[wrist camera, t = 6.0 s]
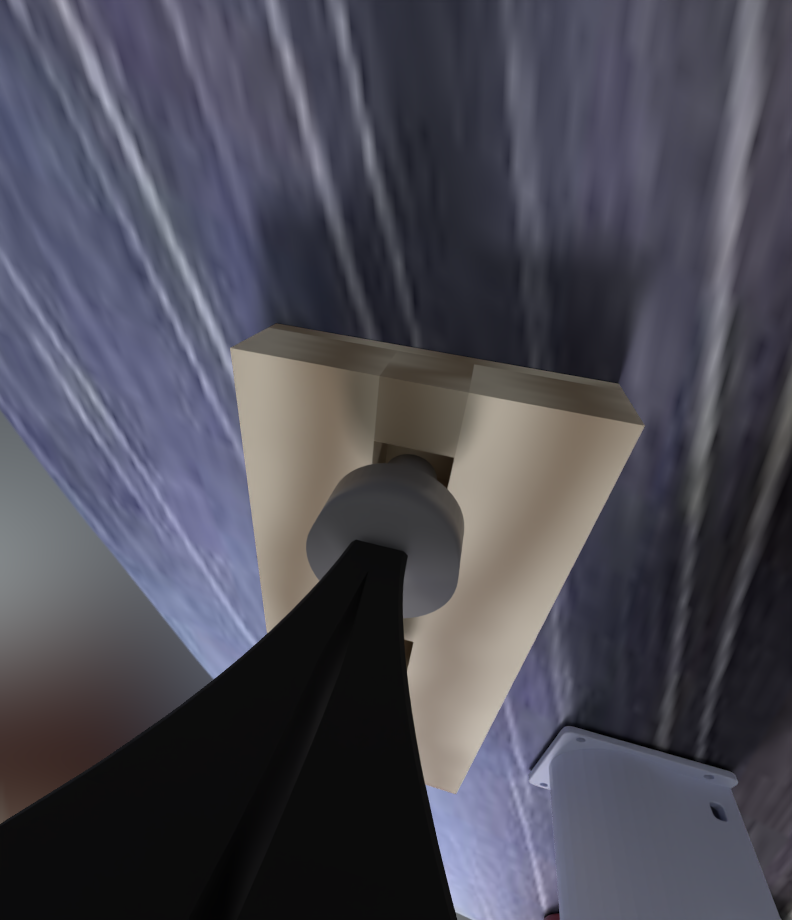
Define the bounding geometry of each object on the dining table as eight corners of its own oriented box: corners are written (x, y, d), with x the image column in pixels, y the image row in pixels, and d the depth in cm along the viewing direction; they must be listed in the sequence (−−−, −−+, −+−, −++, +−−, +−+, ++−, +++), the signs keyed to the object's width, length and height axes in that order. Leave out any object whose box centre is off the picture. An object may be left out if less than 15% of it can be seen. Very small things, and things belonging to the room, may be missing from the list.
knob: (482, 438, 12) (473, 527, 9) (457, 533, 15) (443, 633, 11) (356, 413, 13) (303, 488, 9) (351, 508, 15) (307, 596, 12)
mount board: (618, 383, 13) (644, 425, 11) (460, 742, 28) (456, 794, 26) (276, 323, 15) (230, 348, 12) (299, 693, 30) (280, 738, 27)
